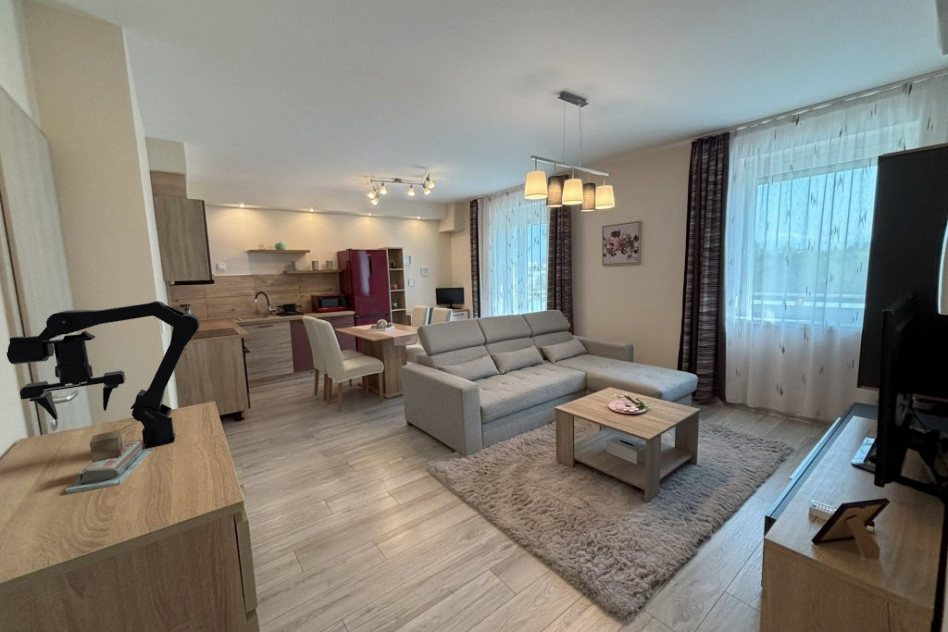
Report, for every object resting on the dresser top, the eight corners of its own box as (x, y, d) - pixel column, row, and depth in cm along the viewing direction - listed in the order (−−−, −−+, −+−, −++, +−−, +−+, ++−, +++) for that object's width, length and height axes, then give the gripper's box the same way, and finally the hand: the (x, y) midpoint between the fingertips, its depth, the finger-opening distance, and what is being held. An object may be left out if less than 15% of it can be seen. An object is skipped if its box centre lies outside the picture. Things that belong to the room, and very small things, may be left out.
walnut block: (123, 447, 98) (120, 429, 97) (120, 455, 94) (117, 436, 93) (96, 453, 95) (93, 435, 94) (92, 462, 91) (89, 442, 90)
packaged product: (105, 442, 101) (150, 436, 105) (107, 459, 102) (153, 452, 106) (61, 477, 85) (117, 467, 88) (65, 496, 85) (120, 486, 89)
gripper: (122, 348, 111) (130, 398, 113) (27, 358, 99) (37, 415, 101) (119, 354, 102) (127, 409, 104) (14, 367, 90) (25, 428, 93)
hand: (81, 414), depth 101 cm, fingers open, 9 cm apart
